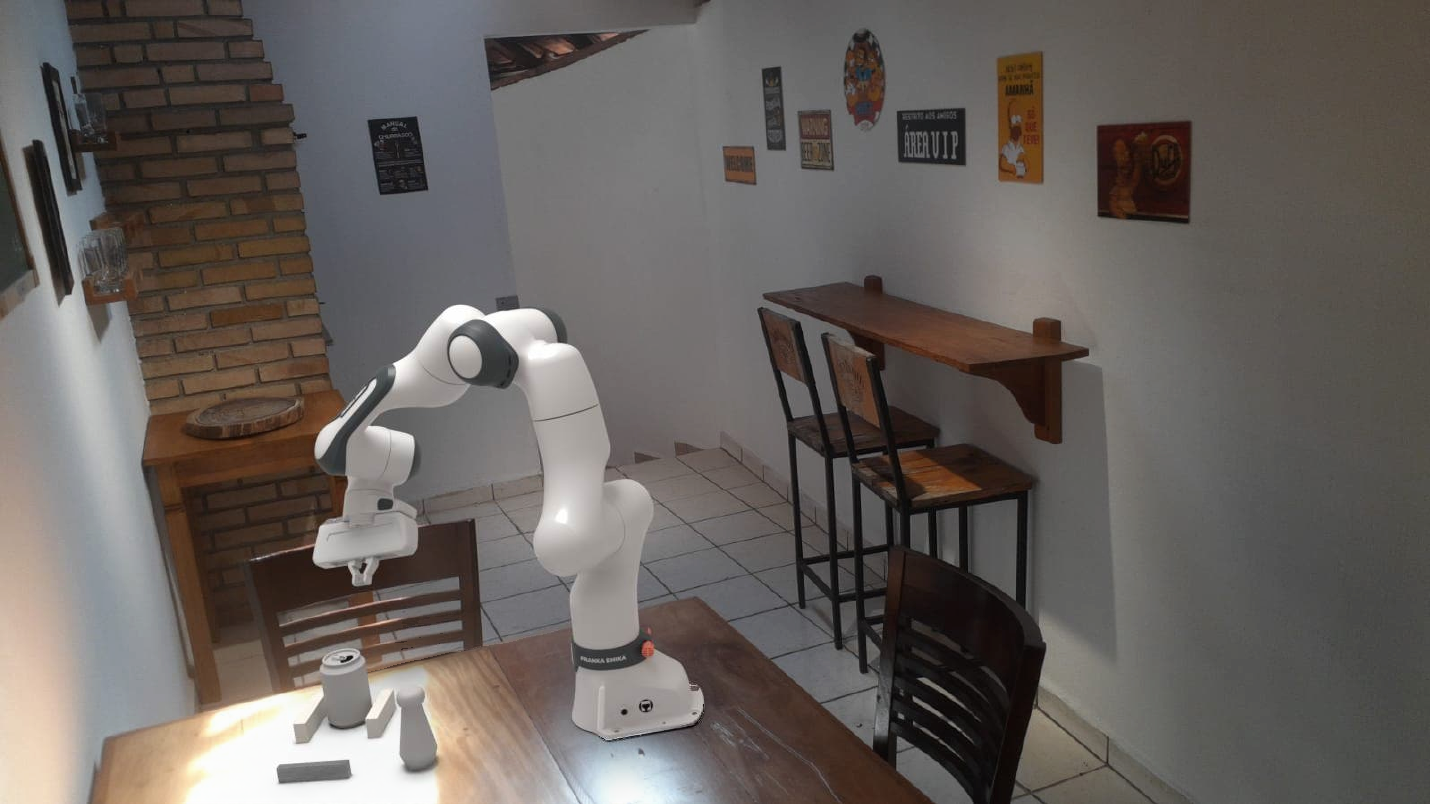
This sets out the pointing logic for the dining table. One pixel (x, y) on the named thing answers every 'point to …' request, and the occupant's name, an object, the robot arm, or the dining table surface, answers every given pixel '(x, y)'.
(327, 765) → the end bar
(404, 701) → the salt shaker
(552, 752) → the dining table surface
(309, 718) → the chute
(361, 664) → the can
